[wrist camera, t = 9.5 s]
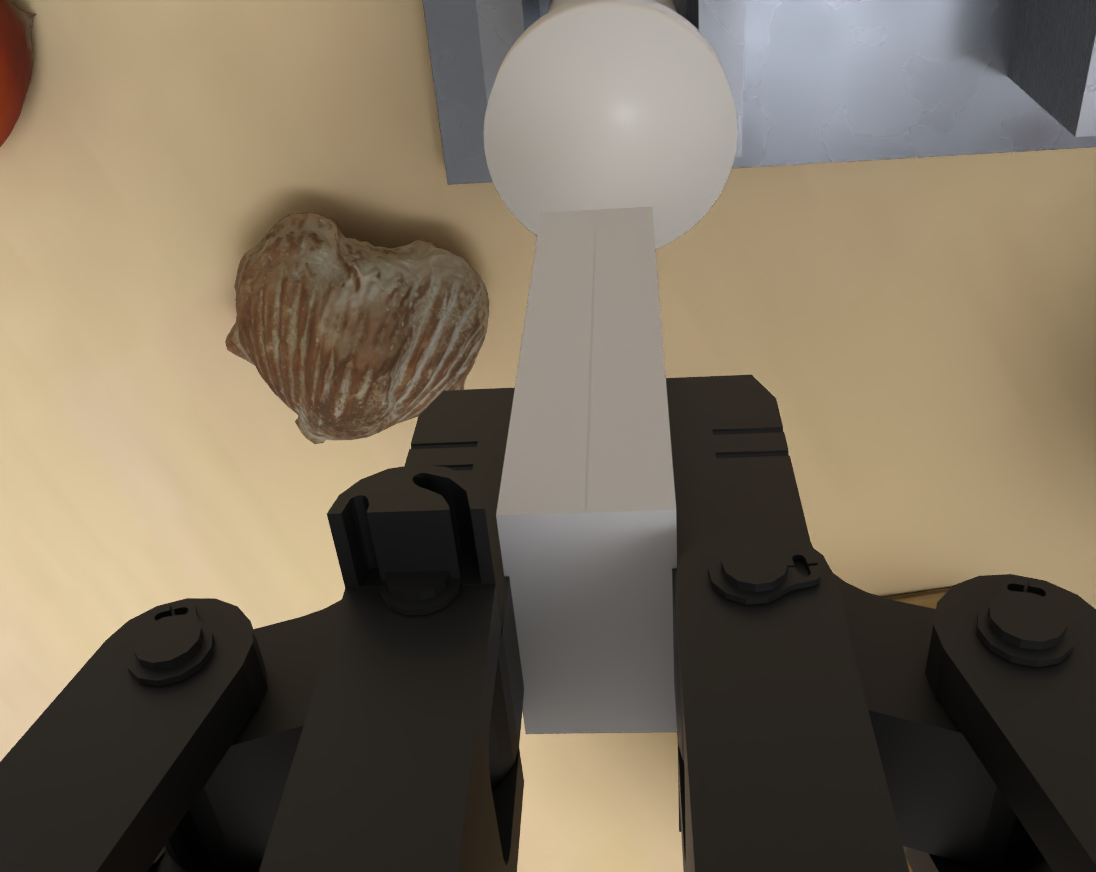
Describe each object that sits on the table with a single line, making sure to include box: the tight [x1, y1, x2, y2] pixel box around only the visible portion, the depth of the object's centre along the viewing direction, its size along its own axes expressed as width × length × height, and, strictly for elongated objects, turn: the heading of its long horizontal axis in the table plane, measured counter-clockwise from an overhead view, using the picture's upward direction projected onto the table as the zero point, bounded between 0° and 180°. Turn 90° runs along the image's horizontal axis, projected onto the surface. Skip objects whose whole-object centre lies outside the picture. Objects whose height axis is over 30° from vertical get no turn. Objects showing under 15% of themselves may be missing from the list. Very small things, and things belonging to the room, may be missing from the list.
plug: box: [483, 0, 738, 249], centre depth 25 cm, size 5×5×9 cm
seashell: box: [225, 213, 489, 444], centre depth 38 cm, size 9×7×8 cm
